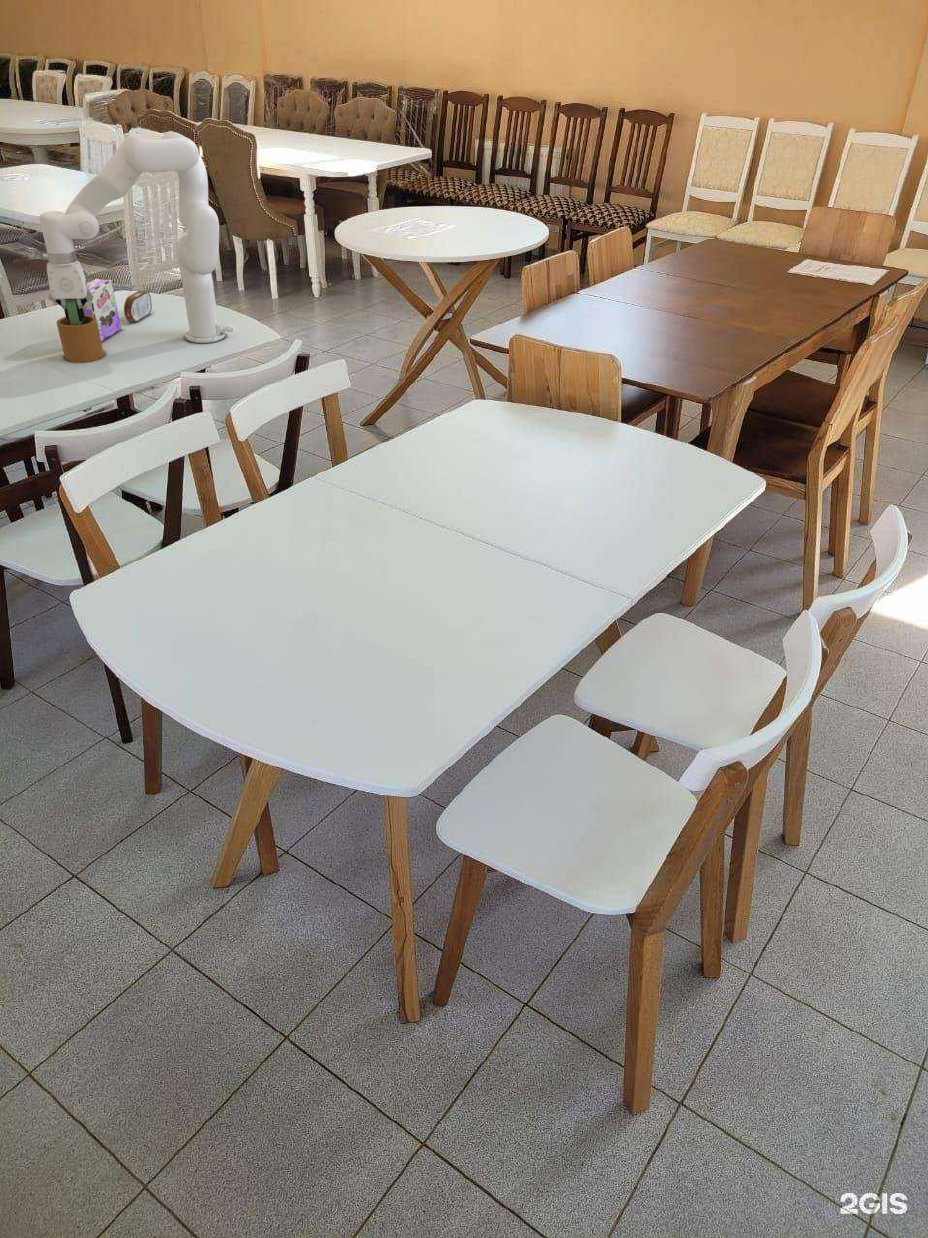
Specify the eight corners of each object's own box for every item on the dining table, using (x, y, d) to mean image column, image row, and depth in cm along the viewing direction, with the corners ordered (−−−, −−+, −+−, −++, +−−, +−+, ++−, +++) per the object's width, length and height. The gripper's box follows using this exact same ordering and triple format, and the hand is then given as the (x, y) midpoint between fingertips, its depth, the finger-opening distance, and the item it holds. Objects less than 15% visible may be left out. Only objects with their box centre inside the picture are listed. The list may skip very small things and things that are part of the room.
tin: (147, 311, 321) (142, 286, 316) (155, 312, 321) (151, 287, 316) (125, 324, 309) (120, 299, 304) (134, 325, 309) (129, 300, 304)
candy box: (100, 343, 294) (89, 290, 284) (83, 341, 295) (72, 289, 285) (122, 329, 305) (112, 279, 295) (106, 328, 306) (95, 277, 296)
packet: (82, 320, 281) (77, 294, 276) (79, 326, 276) (74, 299, 272) (74, 320, 280) (68, 294, 276) (70, 326, 276) (64, 299, 271)
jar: (106, 348, 290) (98, 314, 283) (100, 361, 280) (93, 325, 274) (68, 350, 288) (60, 315, 281) (62, 362, 279) (53, 327, 272)
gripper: (30, 261, 263) (45, 325, 273) (89, 260, 265) (102, 323, 276) (35, 254, 269) (50, 317, 279) (93, 253, 271) (105, 315, 282)
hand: (76, 319), depth 278 cm, fingers closed on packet, 2 cm apart
